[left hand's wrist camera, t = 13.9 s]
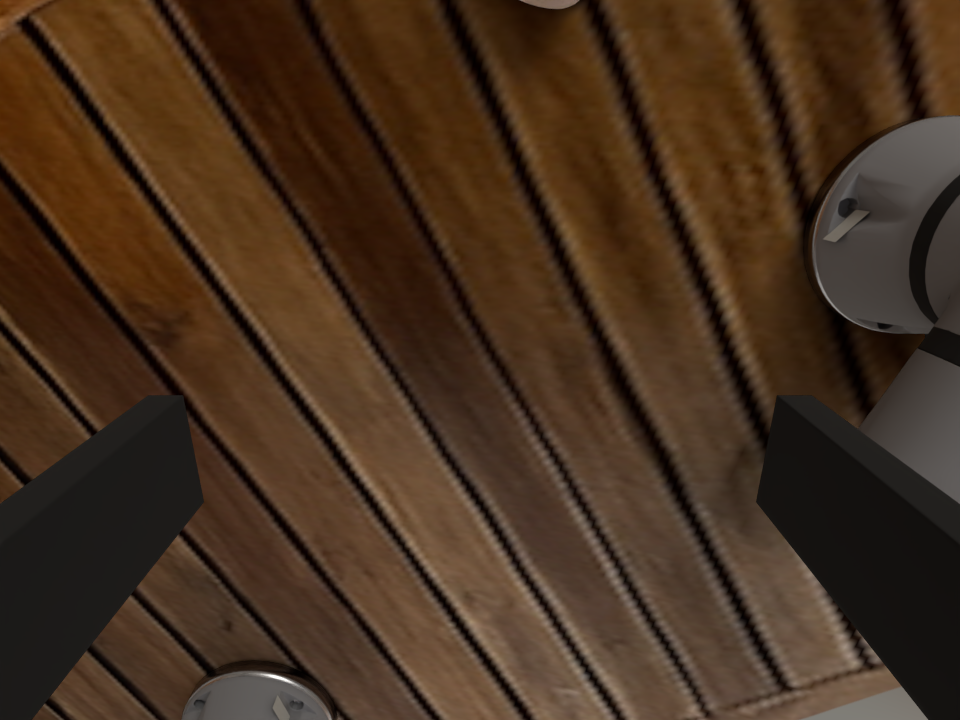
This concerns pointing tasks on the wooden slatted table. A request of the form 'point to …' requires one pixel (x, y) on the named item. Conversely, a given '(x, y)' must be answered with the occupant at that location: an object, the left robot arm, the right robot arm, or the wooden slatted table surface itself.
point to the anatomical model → (551, 3)
